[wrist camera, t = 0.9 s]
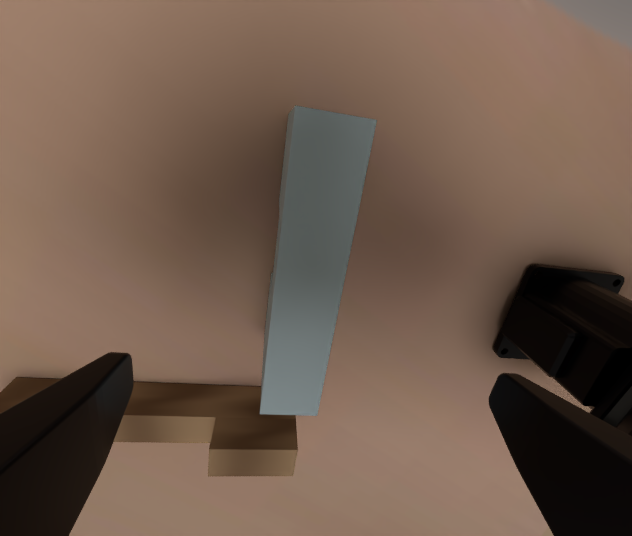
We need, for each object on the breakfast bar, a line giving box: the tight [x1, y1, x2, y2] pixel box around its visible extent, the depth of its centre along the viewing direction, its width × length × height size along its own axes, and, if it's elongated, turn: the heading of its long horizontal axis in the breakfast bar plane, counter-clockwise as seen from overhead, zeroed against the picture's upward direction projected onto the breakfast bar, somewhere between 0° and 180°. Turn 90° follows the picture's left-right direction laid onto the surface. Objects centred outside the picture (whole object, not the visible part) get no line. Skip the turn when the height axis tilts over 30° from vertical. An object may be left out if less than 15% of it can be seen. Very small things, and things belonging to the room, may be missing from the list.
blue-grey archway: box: [260, 105, 377, 416], centre depth 15 cm, size 2×12×6 cm, turn 171°
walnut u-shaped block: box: [0, 377, 298, 476], centre depth 18 cm, size 16×2×4 cm, turn 81°
